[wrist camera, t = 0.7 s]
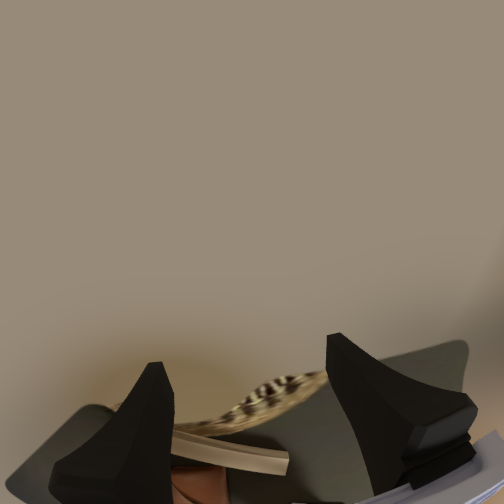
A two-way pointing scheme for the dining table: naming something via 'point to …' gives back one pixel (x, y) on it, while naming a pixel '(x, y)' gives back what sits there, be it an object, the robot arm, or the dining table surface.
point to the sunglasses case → (199, 485)
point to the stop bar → (229, 454)
